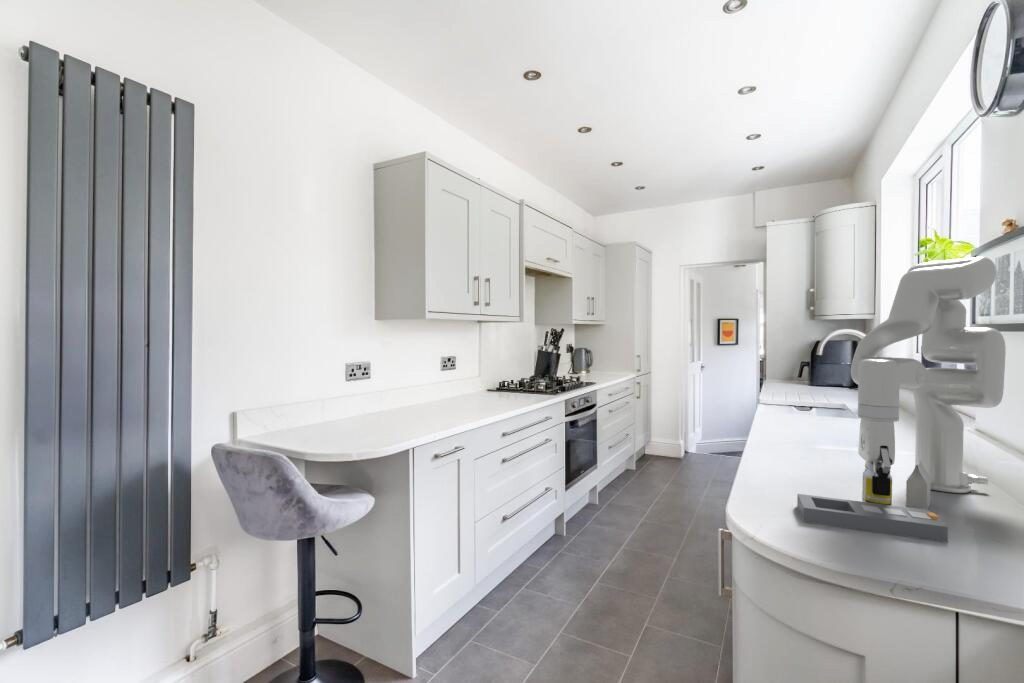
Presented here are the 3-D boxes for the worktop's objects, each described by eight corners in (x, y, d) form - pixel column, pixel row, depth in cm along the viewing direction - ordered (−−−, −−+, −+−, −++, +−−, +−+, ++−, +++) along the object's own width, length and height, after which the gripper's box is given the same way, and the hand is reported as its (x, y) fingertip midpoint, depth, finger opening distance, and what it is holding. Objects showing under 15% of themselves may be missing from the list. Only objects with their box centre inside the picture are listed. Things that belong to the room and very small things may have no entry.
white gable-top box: (930, 503, 113) (931, 461, 113) (926, 510, 109) (927, 467, 109) (910, 499, 116) (911, 458, 116) (906, 505, 111) (906, 463, 111)
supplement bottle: (897, 509, 106) (897, 466, 106) (869, 508, 107) (870, 465, 107) (883, 501, 111) (883, 460, 111) (857, 499, 112) (858, 459, 112)
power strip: (927, 523, 101) (928, 506, 101) (947, 542, 92) (948, 523, 91) (797, 506, 111) (797, 491, 111) (803, 521, 101) (803, 504, 101)
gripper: (849, 406, 118) (848, 478, 119) (868, 417, 103) (867, 500, 103) (886, 408, 115) (885, 482, 115) (911, 419, 100) (910, 505, 100)
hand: (877, 489), depth 109 cm, fingers closed on supplement bottle, 5 cm apart
